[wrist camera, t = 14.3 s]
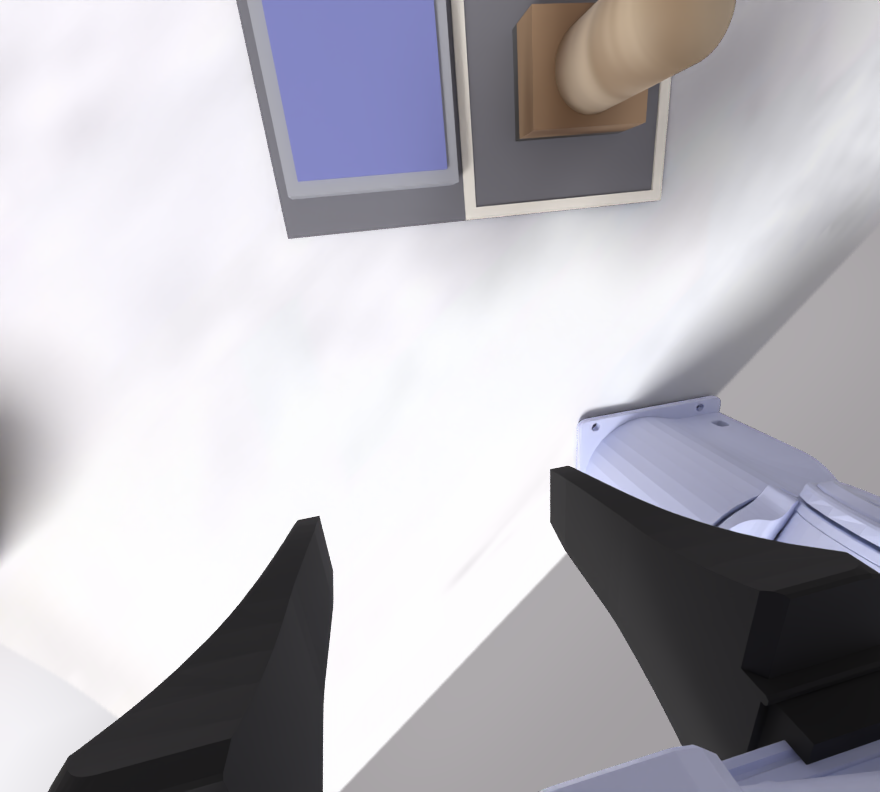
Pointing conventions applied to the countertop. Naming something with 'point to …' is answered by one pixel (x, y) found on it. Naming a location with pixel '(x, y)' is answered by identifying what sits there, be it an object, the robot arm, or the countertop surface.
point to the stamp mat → (422, 118)
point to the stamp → (604, 61)
